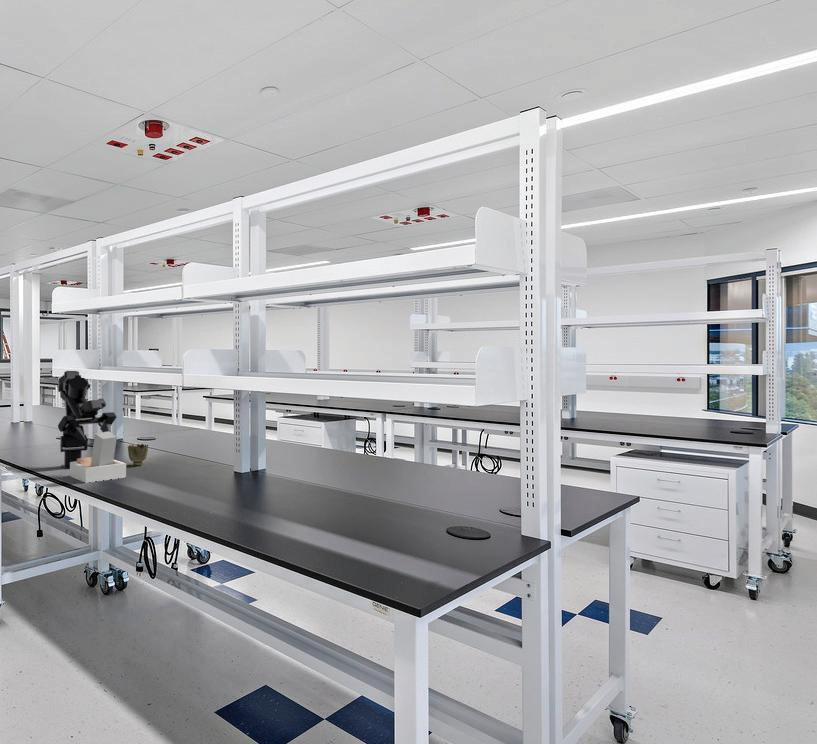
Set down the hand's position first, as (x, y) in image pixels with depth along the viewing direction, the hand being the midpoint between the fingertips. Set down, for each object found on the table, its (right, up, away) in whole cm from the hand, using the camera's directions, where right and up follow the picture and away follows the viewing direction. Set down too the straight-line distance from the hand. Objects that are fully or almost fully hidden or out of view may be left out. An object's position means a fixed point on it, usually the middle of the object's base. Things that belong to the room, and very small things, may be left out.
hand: (97, 439), depth 203 cm
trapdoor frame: (-1, -13, +1) cm, 13 cm away
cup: (+3, -13, +23) cm, 27 cm away
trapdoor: (-2, -14, +2) cm, 14 cm away
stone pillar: (+2, -10, -1) cm, 10 cm away
